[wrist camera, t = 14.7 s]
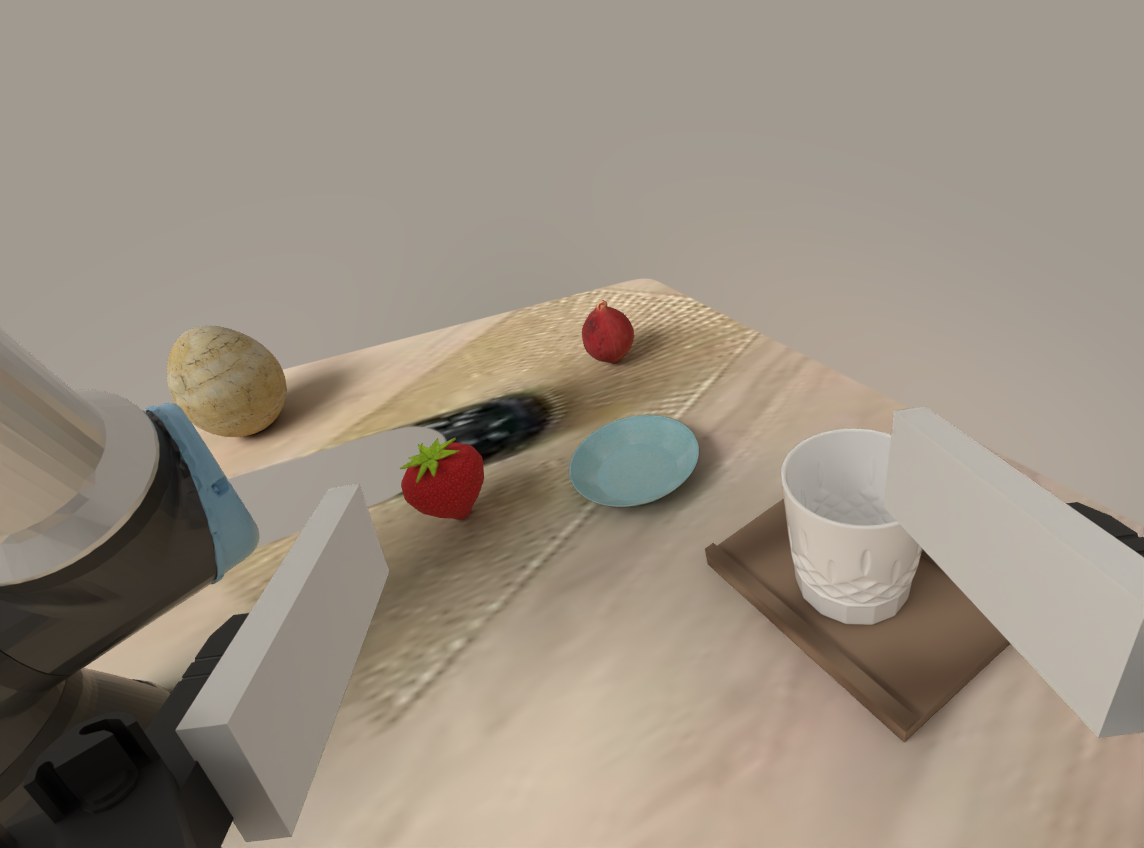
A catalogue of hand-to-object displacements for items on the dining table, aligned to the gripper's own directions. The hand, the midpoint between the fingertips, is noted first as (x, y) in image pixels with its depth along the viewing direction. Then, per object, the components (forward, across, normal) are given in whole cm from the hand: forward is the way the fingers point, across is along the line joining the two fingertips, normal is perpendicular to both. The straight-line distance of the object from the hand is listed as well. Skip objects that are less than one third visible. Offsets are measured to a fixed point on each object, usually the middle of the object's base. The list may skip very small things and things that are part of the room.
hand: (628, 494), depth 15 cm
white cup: (+18, +15, -21) cm, 31 cm away
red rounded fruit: (+53, +4, -16) cm, 55 cm away
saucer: (+34, +3, -20) cm, 40 cm away
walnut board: (+18, +15, -22) cm, 32 cm away
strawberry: (+34, -13, -22) cm, 43 cm away
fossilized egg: (+61, -44, -21) cm, 78 cm away
